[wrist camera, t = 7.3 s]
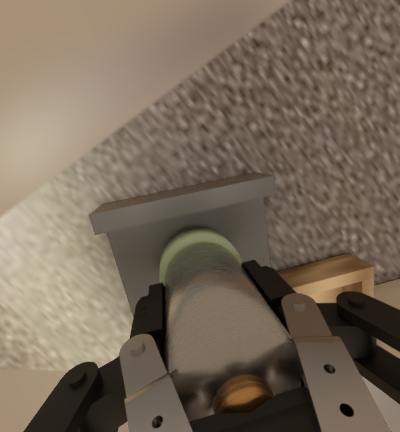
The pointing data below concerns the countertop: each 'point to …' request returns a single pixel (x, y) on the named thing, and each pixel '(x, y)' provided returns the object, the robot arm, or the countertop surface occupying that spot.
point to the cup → (392, 295)
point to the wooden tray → (331, 277)
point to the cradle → (184, 225)
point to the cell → (222, 336)
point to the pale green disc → (189, 239)
